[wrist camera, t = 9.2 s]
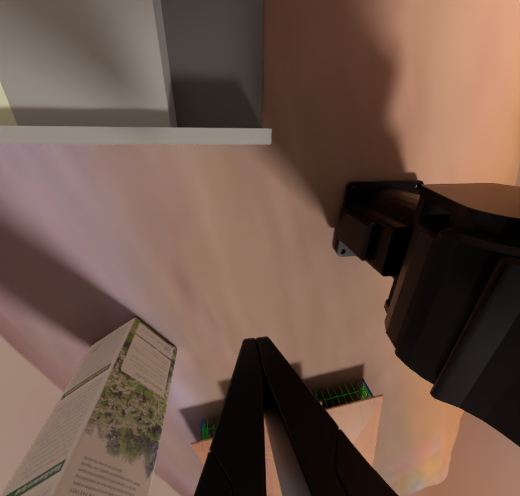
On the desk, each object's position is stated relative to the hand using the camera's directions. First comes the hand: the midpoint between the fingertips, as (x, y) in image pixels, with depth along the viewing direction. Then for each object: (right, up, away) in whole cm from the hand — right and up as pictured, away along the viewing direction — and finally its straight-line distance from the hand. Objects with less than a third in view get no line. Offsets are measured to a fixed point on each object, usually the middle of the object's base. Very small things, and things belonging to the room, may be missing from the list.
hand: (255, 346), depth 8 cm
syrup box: (-12, -6, +15) cm, 20 cm away
